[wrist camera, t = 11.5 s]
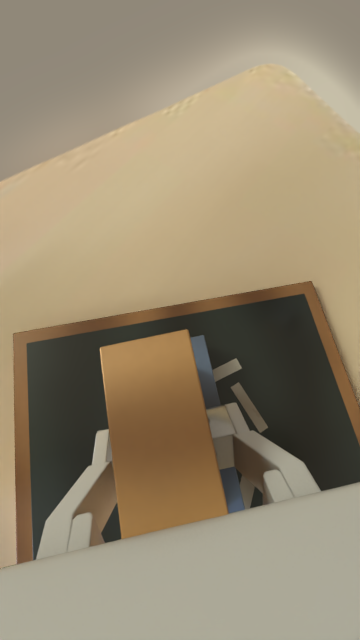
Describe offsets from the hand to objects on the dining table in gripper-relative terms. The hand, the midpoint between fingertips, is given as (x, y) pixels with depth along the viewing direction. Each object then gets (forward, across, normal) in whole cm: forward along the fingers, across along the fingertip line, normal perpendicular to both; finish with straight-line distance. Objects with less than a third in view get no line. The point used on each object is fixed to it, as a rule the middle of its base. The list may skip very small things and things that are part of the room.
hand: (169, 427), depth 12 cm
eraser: (+3, 0, +4) cm, 5 cm away
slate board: (+3, -1, +4) cm, 5 cm away
